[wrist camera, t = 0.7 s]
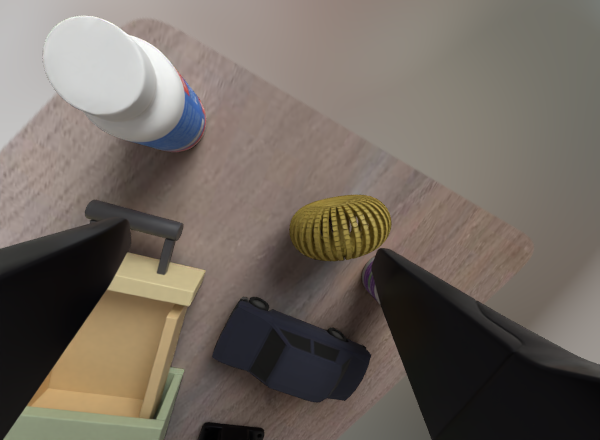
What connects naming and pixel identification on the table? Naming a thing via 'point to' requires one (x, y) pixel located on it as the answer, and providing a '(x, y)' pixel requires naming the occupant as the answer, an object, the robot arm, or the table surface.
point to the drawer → (126, 330)
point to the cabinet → (97, 421)
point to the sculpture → (340, 227)
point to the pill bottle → (122, 84)
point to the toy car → (291, 353)
